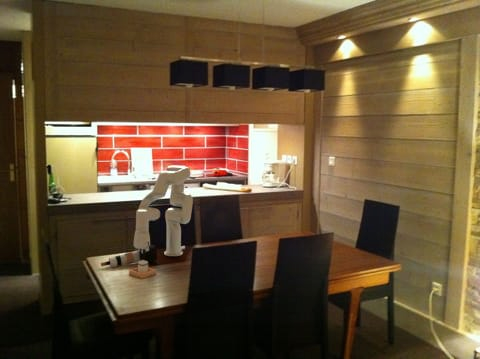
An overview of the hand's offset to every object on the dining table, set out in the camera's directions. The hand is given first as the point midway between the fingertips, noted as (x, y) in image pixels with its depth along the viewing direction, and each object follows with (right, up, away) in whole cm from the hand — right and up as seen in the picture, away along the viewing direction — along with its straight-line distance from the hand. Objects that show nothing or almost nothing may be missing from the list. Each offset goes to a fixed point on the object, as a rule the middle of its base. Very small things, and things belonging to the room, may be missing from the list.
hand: (142, 258), depth 277 cm
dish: (+3, -7, -14) cm, 15 cm away
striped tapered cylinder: (-9, -5, +3) cm, 10 cm away
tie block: (+3, -6, -13) cm, 15 cm away
